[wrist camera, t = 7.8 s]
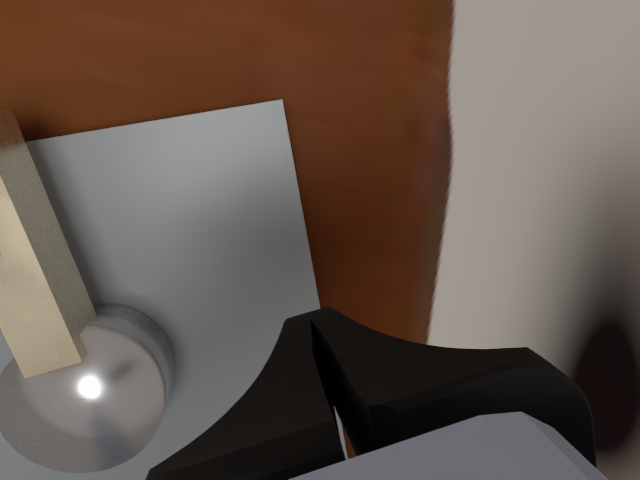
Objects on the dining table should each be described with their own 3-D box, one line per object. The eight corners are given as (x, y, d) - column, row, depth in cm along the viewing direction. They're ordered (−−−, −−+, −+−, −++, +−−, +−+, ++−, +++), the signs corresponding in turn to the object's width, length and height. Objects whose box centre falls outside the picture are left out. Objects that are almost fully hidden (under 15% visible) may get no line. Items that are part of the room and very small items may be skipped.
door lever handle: (192, 401, 20) (181, 456, 17) (63, 440, 20) (24, 505, 16) (81, 100, 16) (37, 90, 13) (-82, 136, 16) (-173, 137, 12)
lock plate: (347, 466, 24) (353, 486, 23) (-29, 569, 22) (-49, 599, 20) (280, 101, 19) (282, 98, 17) (-223, 185, 17) (-268, 190, 15)
